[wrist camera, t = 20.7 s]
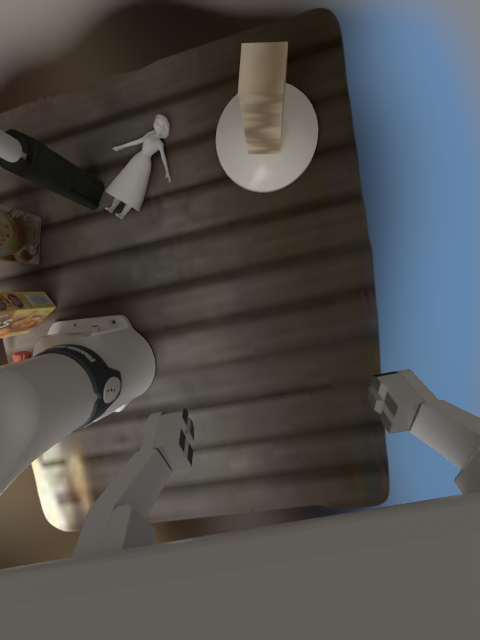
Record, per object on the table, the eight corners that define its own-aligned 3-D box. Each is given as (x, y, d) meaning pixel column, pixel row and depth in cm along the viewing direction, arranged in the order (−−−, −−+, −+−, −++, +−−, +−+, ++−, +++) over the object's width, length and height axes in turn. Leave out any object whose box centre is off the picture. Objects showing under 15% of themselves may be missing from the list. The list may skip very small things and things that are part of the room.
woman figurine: (77, 192, 40) (128, 89, 39) (95, 204, 45) (142, 111, 43) (136, 227, 40) (191, 123, 38) (149, 235, 44) (198, 143, 42)
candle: (81, 173, 44) (-158, 22, 20) (106, 184, 44) (-107, 45, 19) (72, 200, 45) (-169, 88, 20) (96, 211, 45) (-120, 112, 20)
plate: (213, 191, 42) (212, 188, 41) (220, 86, 40) (219, 81, 39) (310, 194, 40) (311, 192, 39) (323, 85, 38) (324, 79, 37)
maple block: (248, 153, 39) (237, 93, 27) (251, 119, 39) (241, 43, 27) (279, 154, 39) (283, 93, 27) (283, 119, 38) (288, 41, 26)
